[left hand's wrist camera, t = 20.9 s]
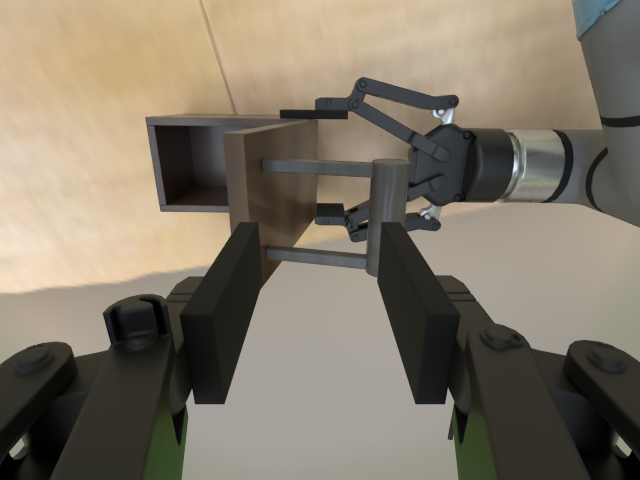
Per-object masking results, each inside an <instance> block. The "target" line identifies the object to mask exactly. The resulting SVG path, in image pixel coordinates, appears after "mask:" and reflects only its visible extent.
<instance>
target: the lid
mask: <svg viewBox="0 0 640 480" xmlns="http://www.w3.org/2000/svg"><path fill="white" fill-rule="evenodd" d="M223 145H224V156H225V168H226V180H227V191H228V203H229V214H230V226H231V235H232V233H233V232H234V230H235V229H236V227H237V226H238V224H239V222H259V236H260V250H261V265H262V279H263V282H262V285H261V288H262V287H263V285H264V284H265V283H266V281H267V280H268V279H269V278H270V276H271V275H272V274H273V272H274V271H275V270H276V268H277V267H278V266H279V264H280V263H281V262H282V261H291V262H301V263H310V264H320V265H330V266H339V267H349V268H359V269H365V270H366V272H367V273H368V274H369V275H371V276H374V277H378V265H379V250H380V236H381V222H401V224H402V226H403V227H404V221H405V211H406V201H407V192H408V182H409V173H410V162H408V161H406V160H400V159H376V160H373V161H372V163H371V162H349V161H326V160H317V120H311V119H305V120H299V121H293V122H287V123H281V124H275V125H269V126H263V127H257V128H250V129H244V130H238V131H232V132H226V133H223ZM317 175H334V176H353V177H371V187H370V202H369V217H368V233H367V248H366V254H357V253H346V252H336V251H325V250H314V249H304V248H294V247H293V246H294V245H295V243H296V242H297V241H298V239H299V238H300V237H301V235H302V234H303V233H304V231H305V230H306V229H307V227H308V226H309V225H310V224H311V222H312V221H313V220H314V218H315V217H316V215H317Z"/></svg>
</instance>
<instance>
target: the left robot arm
mask: <svg viewBox="0 0 640 480" xmlns="http://www.w3.org/2000/svg"><path fill="white" fill-rule="evenodd" d="M262 282H263V279H262V265H261V250H260V236H259V222H239V224H238V226H237V227H236V229H235V230H234V232H233V233H232V235H231V236H230V238H229V239H228V241H227V242H226V244H225V246H224V247H223V249H222V250H221V252H220V253H219V255H218V256H217V258H216V259H215V261H214V263H213V264H212V266H211V267H210V269H209V270H208V272H207V273H206V275H205V276H204V277H188V278H186V279H184V280H183V281H181V282H180V283H178V284H177V285H176V286H175V287H174V289H173V290H172V291H171V292H170V295H168V296H167V298H166V299H164V298H163V297H162V296H159V295H154V294H141V295H136V296H131V297H128V298H125V299H123V300H120V301H118V302H116V303H114V304H113V305H111V306H109V307H108V308H107V309H106V310H105V311H104V313H103V316H104V320H105V324H106V327H107V331H108V335H109V338H110V342H111V345H110V347H109V350H106V351H102V352H98V353H93V354H88V355H83V356H78V357H74V355H73V352H72V349H71V347H70V346H69V345H68V344H66V343H63V342H48V343H41V344H37V345H34V346H31V347H28V348H26V349H24V350H22V351H20V352H18V353H16V354H14V355H13V356H11V357H10V358H9V359H7V360H6V361H4V362H3V363H2V364H0V480H181V479H182V470H183V460H184V451H185V442H186V433H187V423H188V413H187V407H186V401H187V399H188V397H189V394H190V392H191V390H192V389H193V395H194V400H195V404H224V403H225V400H226V397H227V394H228V391H229V388H230V384H231V381H232V378H233V375H234V372H235V368H236V365H237V362H238V359H239V355H240V353H241V349H242V346H243V343H244V340H245V337H246V333H247V330H248V327H249V324H250V320H251V317H252V314H253V311H254V308H255V305H256V301H257V298H258V295H259V292H260V289H261V285H262ZM377 282H378V285H379V288H380V292H381V295H382V298H383V301H384V304H385V308H386V311H387V314H388V317H389V321H390V324H391V327H392V330H393V333H394V337H395V340H396V343H397V346H398V349H399V352H400V356H401V359H402V362H403V365H404V368H405V372H406V375H407V378H408V381H409V384H410V388H411V391H412V394H413V397H414V400H415V404H445V401H446V395H447V389H448V388H449V390H450V392H451V395H452V397H453V399H454V407H453V413H452V418H451V423H450V429H449V434H448V439H449V440H452V439H453V434H454V441H455V450H456V459H457V469H458V478H459V480H640V362H639V361H637V360H636V359H635V358H633V357H632V356H630V355H629V354H627V353H626V352H624V351H622V350H620V349H617V348H615V347H614V346H612V345H609V344H606V343H605V344H604V343H602V342H597V341H589V340H581V341H575V342H573V343H572V344H571V345H570V346H569V348H568V352H567V355H566V356H565V355H560V354H555V353H550V352H545V351H539V350H536V349H532V348H531V347H530V345H529V343H528V342H527V340H526V339H525V338H524V336H522V335H521V334H519V333H518V332H517V331H515V330H513V329H511V328H508V327H506V326H504V325H500V324H495V323H494V322H493V321H492V319H491V318H490V317H489V315H488V314H487V313H486V312H485V310H484V309H483V308H482V306H481V305H480V304H479V303H478V302H476V299H475V297H474V296H473V295H472V294H470V291H469V290H468V288H467V287H466V286H465V285H464V283H462V282H461V281H459V280H458V279H456V278H454V277H453V276H435V275H434V273H433V272H432V270H431V269H430V267H429V266H428V264H427V263H426V261H425V259H424V258H423V256H422V255H421V253H420V252H419V250H418V249H417V247H416V246H415V244H414V243H413V241H412V239H411V238H410V236H409V235H408V233H407V232H406V230H405V229H404V227H403V226H402V224H401V222H381V236H380V250H379V265H378V279H377ZM619 436H620V437H621V438H622V439H623V440H624V442H625V443H626V444H627V445H628V446H629V447H630V448H631V450H632V451H631V454H630V455H629V456H627V455H626V454H624V453H623V452H622V451H621V449H620V448H619V447H618V446H617V445H616V443H617V440H618V438H619ZM20 438H22V440H23V443H24V445H25V446H24V447H23V448H22V449H21V450H20V452H19V453H18V454H16V455H15V456H14V457H13V458H12V457H11V456H10V454H9V451H10V450H11V449H12V448H13V447H14V445H15V444H16V443H17V442H18V441H19V440H20Z"/></svg>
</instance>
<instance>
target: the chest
mask: <svg viewBox="0 0 640 480" xmlns="http://www.w3.org/2000/svg"><path fill="white" fill-rule="evenodd" d="M145 118H146V124H147V130H148V136H149V143H150V149H151V155H152V161H153V168H154V174H155V180H156V186H157V193H158V199H159V205H160V210H161V212H229V203H228V191H227V180H226V168H225V156H224V145H223V133H226V132H232V131H238V130H244V129H250V128H257V127H263V126H269V125H275V124H281V123H287V122H293V121H299V120H305V119H302V118H280V115H223V114H177V115H165V116H153V117H145ZM311 120H314V119H311Z"/></svg>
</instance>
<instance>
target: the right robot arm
mask: <svg viewBox="0 0 640 480" xmlns="http://www.w3.org/2000/svg"><path fill="white" fill-rule="evenodd" d="M572 3H573V9H574V16H575V22H576V29H577V39H578V40H579V41H580V43H581V46H582V50H583V54H584V58H585V61H586V65H587V69H588V73H589V76H590V80H591V84H592V87H593V91H594V95H595V99H596V102H597V106H598V110H599V115H600V119H601V124H602V128H603V130H551V129H508V130H506V131H504V130H502V129H480V128H460V127H458V126H457V125H455V124H454V108H455V107H456V106H457V105H458V103H459V98H458V97H457V96H456V95H444V96H434V97H433V96H430V95H426V94H423V93H419V92H415V91H412V90H408V89H405V88H401V87H397V86H394V85H390V84H387V83H383V82H380V81H376V80H372V79H369V78H365V77H362V78H360V79H358V80H357V81H356V82H355V85H354V88H353V91H352V93H351V95H350V96H349V97H347V98H319V99H316V100H315V110H280V118H302V119H348V111H352V112H354V113H356V114H358V115H359V116H361V117H363V118H365V119H366V120H368V121H370V122H372V123H373V124H375V125H377V126H379V127H380V128H382V129H384V130H386V131H387V132H389V133H391V134H393V135H394V136H396V137H398V138H400V139H401V140H403V141H405V142H406V143H408V144H410V145H412V146H411V149H409V152H408V159H409V162H410V173H409V182H408V192H407V201H406V202H409V201H412V200H414V199H416V198H419V197H421V196H423V197H424V198H425V199H426V200H428V201H429V202H430V205H429V206H428V207H427V208H422V209H420V211H419V213H417V212H415V213H407V214H405V221H404V229H405V230H406V232H408V231H413V230H417V229H421V230H429V231H437V230H439V229H440V227H441V223H440V222H439V221H438V220H439V216H440V212H441V208H442V206H445V205H447V204H449V203H452V202H484V203H491V202H495V201H498V202H500V203H571V204H580V205H584V206H587V207H589V208H592V209H594V210H597V211H599V212H602V213H605V214H608V215H610V216H613V217H615V218H618V219H620V220H623V221H625V222H627V223H630V224H632V225H635V226H637V227H640V0H572ZM365 94H369V95H372V96H376V97H380V98H383V99H387V100H391V101H394V102H398V103H401V104H405V105H409V106H412V107H416V108H420V109H426V110H430V113H431V116H432V117H434V118H438V119H439V120H440V121H441V125H439V126H438V127H436V128H435V129H433V130H432V131H430V132H429V133H427V134H426V135H424V136H422V135H420V134H419V133H417V132H415V131H413V130H411V129H409V128H408V127H406V126H404V125H402V124H401V123H399V122H397V121H396V120H394V119H392V118H390V117H389V116H387V115H385V114H384V113H382V112H380V111H378V110H377V109H375V108H373V107H371V106H370V105H368V104H366V103H365V102H363V100H364V97H365ZM369 202H370V200H367V201H365V202H363V203H361V204H359V205H357V206H355V207H353V208H351V209H348V210H346V211H344V206H343V203H317V215H316V217H315V224H318V225H342V226H344V227H346V228H347V230H348V233H349V236H350V239H351V241H352V242H360V241H365V240H367V233H368V222H365V223H361V222H363V221H365V220H367V219H368V217H369ZM359 223H360V224H359Z"/></svg>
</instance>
